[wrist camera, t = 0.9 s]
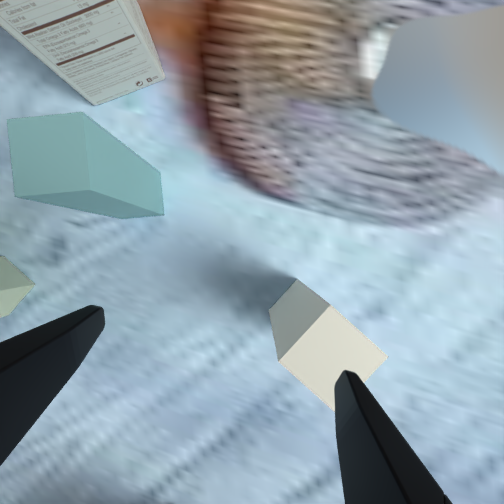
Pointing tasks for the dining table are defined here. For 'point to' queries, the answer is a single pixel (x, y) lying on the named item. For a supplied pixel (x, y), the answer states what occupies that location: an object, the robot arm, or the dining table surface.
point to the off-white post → (319, 342)
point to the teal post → (81, 167)
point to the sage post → (12, 286)
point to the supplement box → (87, 43)
